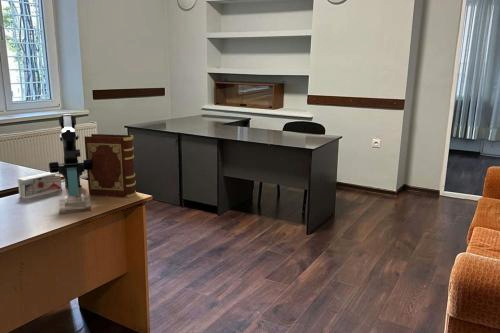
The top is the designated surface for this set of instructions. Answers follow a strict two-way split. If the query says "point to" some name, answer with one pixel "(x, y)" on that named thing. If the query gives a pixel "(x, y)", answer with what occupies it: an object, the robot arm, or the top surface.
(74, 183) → the teal rectangular block
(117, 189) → the decorative book
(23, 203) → the top surface
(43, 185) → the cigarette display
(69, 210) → the book stand
